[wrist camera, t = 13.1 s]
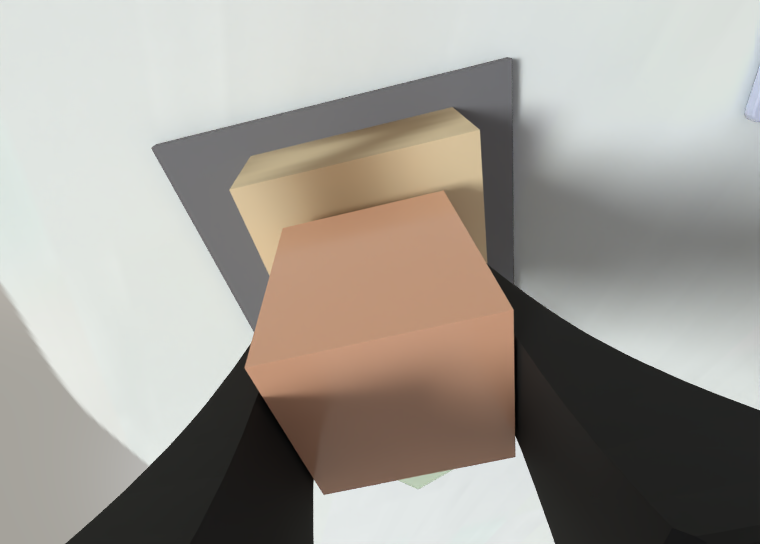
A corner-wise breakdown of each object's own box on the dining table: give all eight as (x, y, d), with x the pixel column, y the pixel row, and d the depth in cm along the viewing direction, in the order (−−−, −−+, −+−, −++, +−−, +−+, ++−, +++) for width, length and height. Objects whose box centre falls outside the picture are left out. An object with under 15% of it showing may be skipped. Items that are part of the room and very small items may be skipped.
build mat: (507, 57, 12) (511, 58, 12) (511, 363, 21) (514, 369, 20) (156, 144, 13) (151, 147, 12) (300, 407, 21) (299, 414, 21)
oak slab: (452, 107, 13) (480, 129, 10) (468, 274, 17) (490, 320, 14) (250, 156, 13) (229, 189, 10) (313, 308, 17) (308, 359, 14)
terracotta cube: (443, 190, 10) (513, 310, 6) (458, 313, 13) (515, 456, 9) (282, 227, 10) (244, 368, 6) (329, 341, 13) (323, 494, 9)
